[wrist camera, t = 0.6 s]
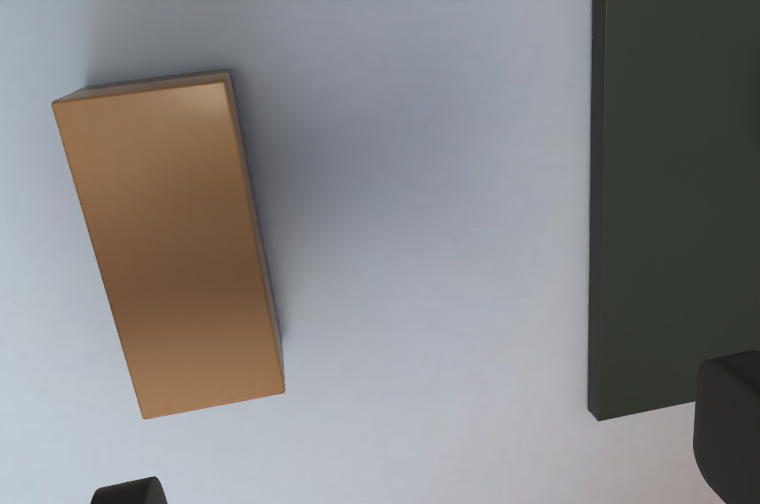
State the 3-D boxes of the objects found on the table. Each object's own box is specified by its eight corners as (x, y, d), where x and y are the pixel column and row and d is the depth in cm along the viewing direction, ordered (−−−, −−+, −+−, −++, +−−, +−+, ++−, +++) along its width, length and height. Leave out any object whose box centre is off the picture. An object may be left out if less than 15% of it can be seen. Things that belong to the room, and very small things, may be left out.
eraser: (84, 86, 22) (49, 102, 19) (231, 67, 23) (226, 79, 19) (158, 363, 26) (142, 421, 23) (282, 340, 27) (286, 393, 23)
